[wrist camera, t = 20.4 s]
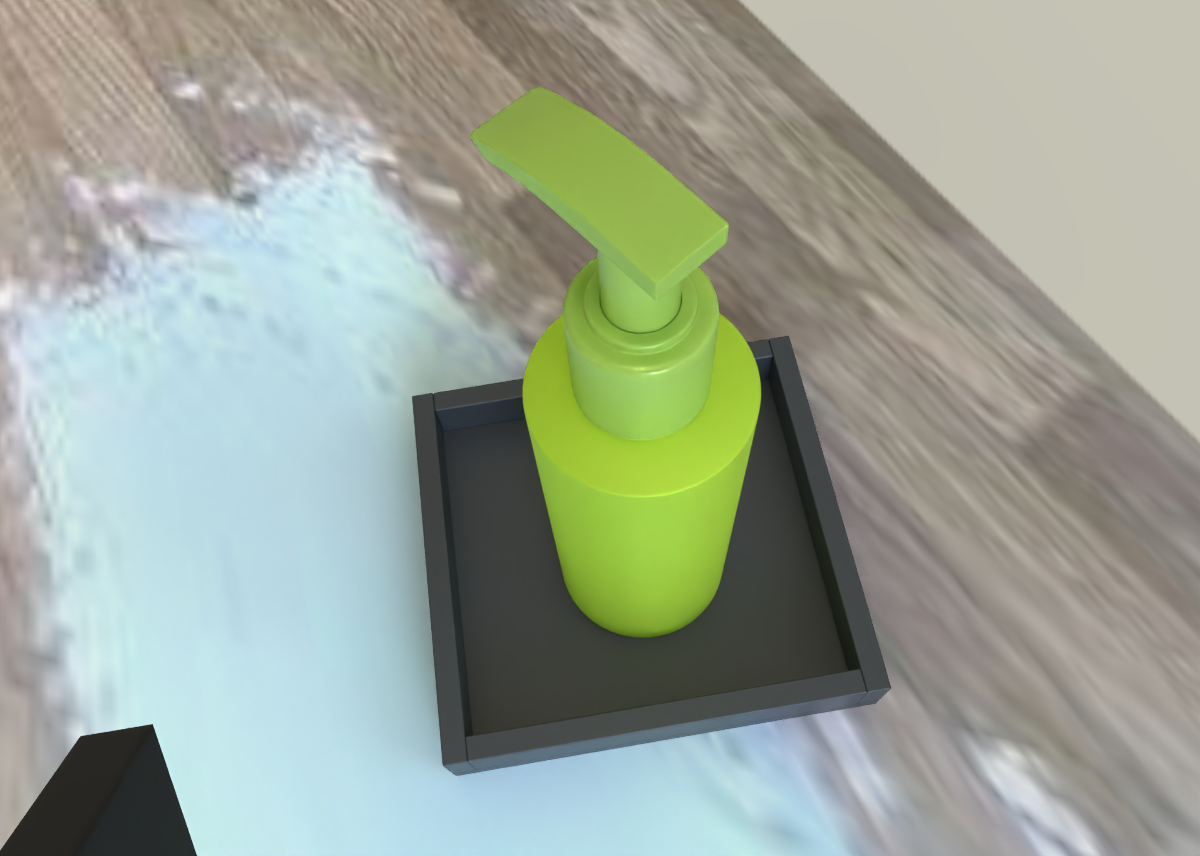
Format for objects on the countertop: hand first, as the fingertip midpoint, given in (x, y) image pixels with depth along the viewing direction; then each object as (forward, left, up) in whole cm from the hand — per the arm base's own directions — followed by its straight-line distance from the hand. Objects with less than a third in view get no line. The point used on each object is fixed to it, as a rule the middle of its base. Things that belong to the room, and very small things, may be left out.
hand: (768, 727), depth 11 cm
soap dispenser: (0, -10, -23) cm, 25 cm away
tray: (0, -10, -24) cm, 26 cm away
